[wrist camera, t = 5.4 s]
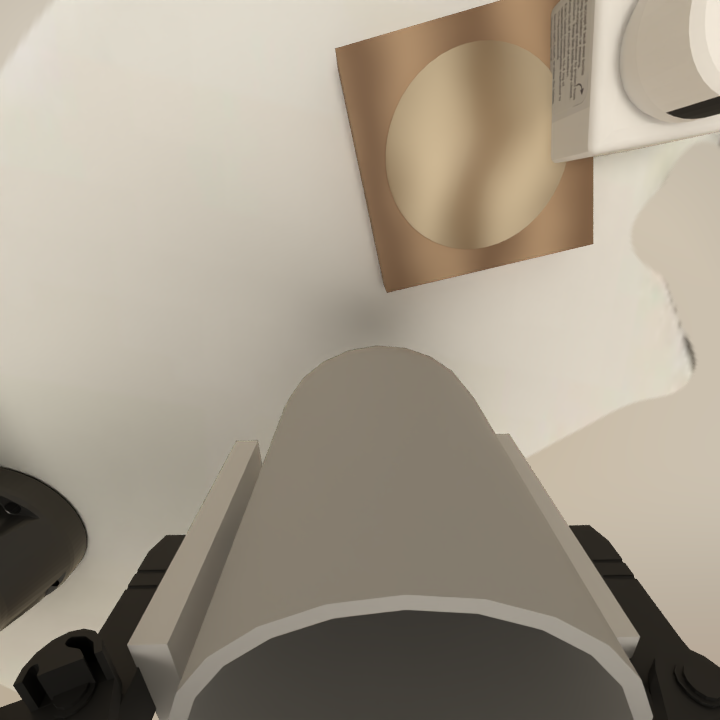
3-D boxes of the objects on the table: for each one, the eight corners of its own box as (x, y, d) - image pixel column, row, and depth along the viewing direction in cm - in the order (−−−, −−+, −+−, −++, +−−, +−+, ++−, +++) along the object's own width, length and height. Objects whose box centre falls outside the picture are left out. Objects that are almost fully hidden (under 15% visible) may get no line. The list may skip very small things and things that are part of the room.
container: (655, 5, 23) (997, -229, 11) (641, 148, 25) (897, 94, 13) (526, 31, 23) (712, -164, 11) (526, 169, 26) (675, 135, 14)
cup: (516, 425, 14) (746, 747, 6) (340, 567, 17) (319, 921, 8) (374, 296, 12) (404, 492, 4) (203, 480, 15) (5, 824, 7)
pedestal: (383, 284, 29) (387, 293, 26) (337, 67, 23) (334, 46, 20) (569, 240, 28) (595, 244, 24) (563, 2, 22) (596, -31, 19)
